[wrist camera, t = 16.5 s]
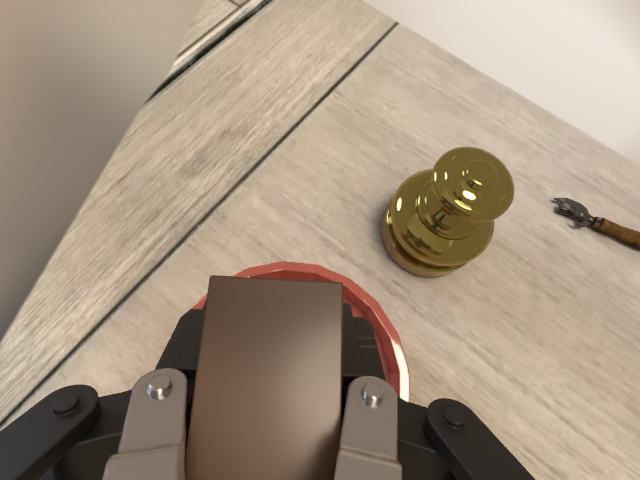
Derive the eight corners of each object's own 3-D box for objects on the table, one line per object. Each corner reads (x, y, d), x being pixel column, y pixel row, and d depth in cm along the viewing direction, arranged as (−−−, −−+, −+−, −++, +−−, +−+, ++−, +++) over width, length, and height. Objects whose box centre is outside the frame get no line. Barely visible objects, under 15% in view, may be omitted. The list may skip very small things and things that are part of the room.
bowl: (242, 553, 23) (230, 598, 18) (149, 343, 26) (118, 336, 22) (428, 418, 26) (458, 426, 21) (322, 248, 30) (328, 224, 25)
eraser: (312, 439, 18) (341, 504, 8) (236, 437, 17) (177, 502, 8) (316, 329, 19) (343, 281, 10) (247, 326, 19) (209, 274, 10)
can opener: (652, 245, 32) (665, 240, 31) (646, 267, 31) (658, 263, 30) (553, 192, 33) (562, 186, 32) (545, 213, 32) (553, 207, 31)
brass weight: (430, 298, 29) (497, 260, 20) (360, 232, 31) (392, 168, 21) (486, 237, 31) (570, 176, 22) (418, 178, 33) (470, 98, 23)
